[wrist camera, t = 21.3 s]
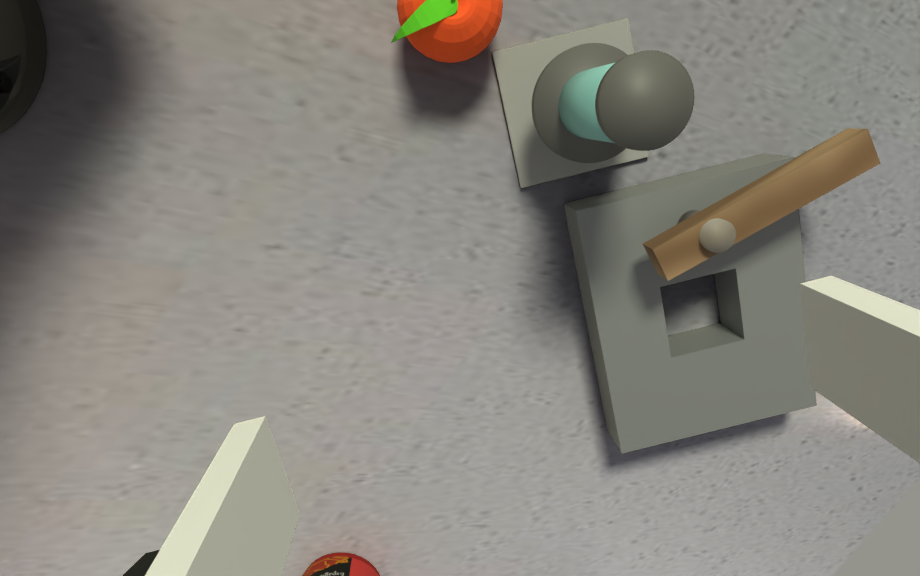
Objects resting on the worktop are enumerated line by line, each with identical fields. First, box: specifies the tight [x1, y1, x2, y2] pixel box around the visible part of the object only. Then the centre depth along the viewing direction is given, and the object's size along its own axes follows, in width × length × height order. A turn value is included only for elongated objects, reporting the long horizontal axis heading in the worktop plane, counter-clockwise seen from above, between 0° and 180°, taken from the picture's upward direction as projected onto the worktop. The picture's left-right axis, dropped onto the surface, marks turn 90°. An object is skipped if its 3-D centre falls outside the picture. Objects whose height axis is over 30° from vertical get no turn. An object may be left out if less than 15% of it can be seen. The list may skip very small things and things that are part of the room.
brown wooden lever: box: [643, 128, 880, 281], centre depth 44 cm, size 2×16×4 cm, turn 120°
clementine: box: [391, 0, 503, 63], centre depth 42 cm, size 8×7×7 cm
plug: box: [532, 43, 694, 163], centre depth 39 cm, size 8×8×16 cm
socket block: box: [564, 154, 816, 454], centre depth 50 cm, size 16×20×4 cm
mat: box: [492, 18, 649, 188], centre depth 47 cm, size 10×10×1 cm
